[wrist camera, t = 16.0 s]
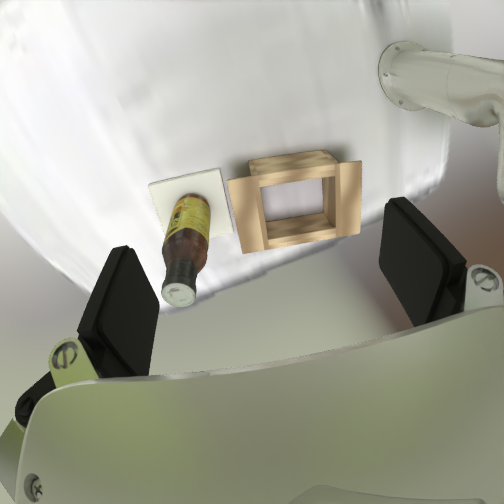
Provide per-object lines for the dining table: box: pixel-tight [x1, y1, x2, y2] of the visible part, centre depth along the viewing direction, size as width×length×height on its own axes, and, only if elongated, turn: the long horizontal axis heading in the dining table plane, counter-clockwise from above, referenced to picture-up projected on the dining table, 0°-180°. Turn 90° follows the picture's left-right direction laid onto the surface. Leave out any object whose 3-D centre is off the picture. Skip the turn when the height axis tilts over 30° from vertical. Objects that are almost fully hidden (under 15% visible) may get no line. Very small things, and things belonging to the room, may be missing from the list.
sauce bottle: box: [161, 194, 211, 307], centre depth 40 cm, size 7×6×20 cm
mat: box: [148, 168, 234, 238], centre depth 48 cm, size 12×12×1 cm
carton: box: [227, 150, 362, 254], centre depth 46 cm, size 20×13×7 cm, turn 99°
